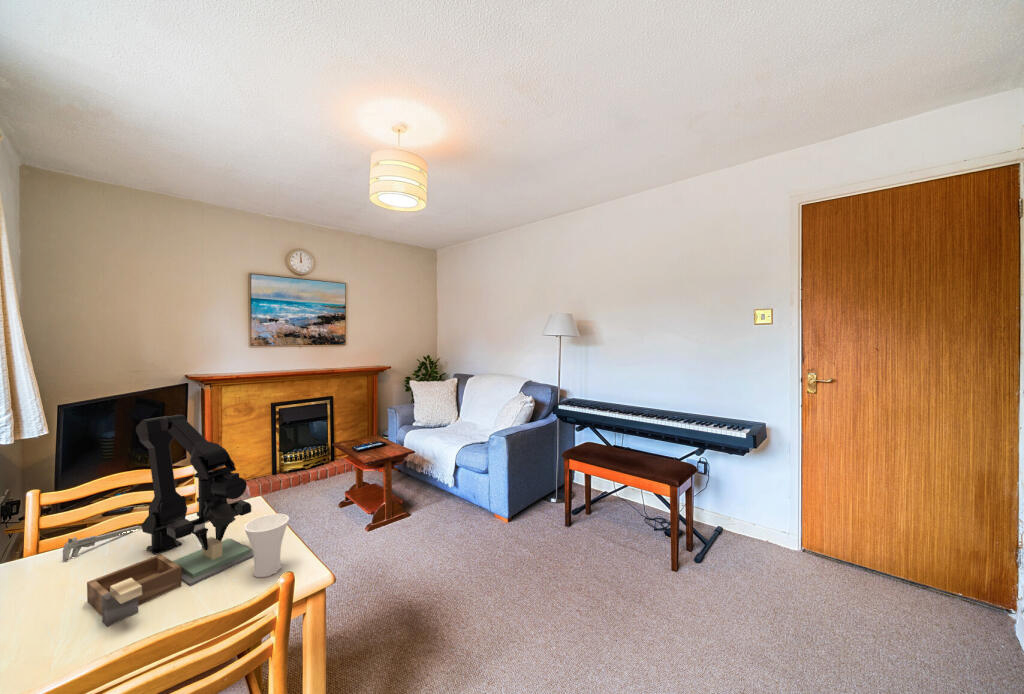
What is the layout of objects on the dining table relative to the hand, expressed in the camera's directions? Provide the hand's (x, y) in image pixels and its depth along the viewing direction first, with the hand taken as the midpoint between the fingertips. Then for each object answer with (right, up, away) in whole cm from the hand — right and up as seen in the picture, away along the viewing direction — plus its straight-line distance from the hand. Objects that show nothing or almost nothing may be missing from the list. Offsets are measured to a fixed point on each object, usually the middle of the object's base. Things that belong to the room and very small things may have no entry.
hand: (212, 547), depth 112 cm
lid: (0, -3, 0) cm, 3 cm away
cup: (+19, -5, -4) cm, 20 cm away
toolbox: (-7, -4, -15) cm, 17 cm away
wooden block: (-1, +2, -24) cm, 24 cm away
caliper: (-40, -4, +9) cm, 41 cm away
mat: (0, -4, 0) cm, 4 cm away
